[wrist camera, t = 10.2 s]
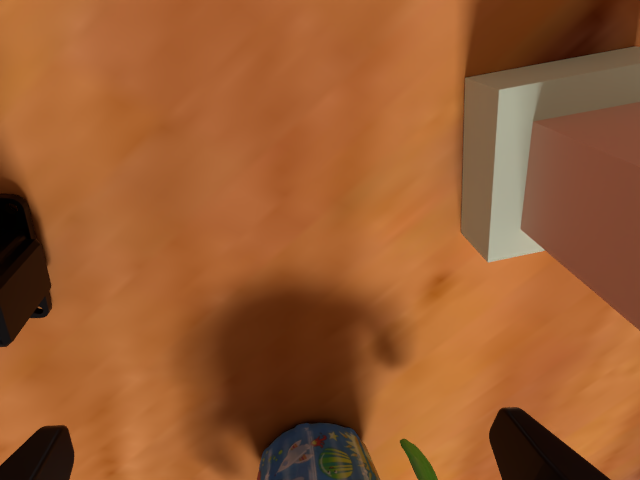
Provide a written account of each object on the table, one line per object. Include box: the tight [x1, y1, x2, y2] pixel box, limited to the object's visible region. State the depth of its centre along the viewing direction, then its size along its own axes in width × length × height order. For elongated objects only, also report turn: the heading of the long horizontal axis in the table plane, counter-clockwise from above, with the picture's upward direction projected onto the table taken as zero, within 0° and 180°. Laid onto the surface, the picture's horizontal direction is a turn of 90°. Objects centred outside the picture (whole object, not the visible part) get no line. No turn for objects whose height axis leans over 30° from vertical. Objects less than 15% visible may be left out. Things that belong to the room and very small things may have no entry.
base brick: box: [461, 46, 640, 262], centre depth 20 cm, size 8×8×3 cm
